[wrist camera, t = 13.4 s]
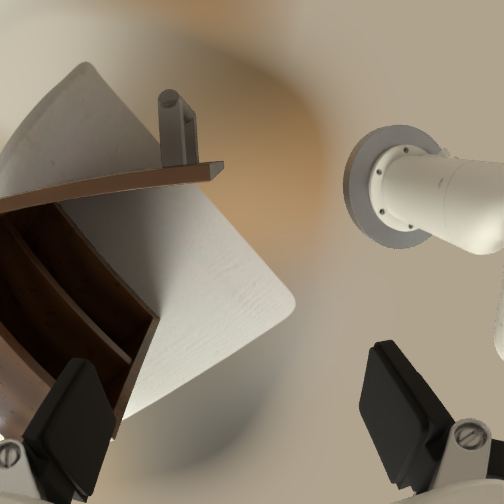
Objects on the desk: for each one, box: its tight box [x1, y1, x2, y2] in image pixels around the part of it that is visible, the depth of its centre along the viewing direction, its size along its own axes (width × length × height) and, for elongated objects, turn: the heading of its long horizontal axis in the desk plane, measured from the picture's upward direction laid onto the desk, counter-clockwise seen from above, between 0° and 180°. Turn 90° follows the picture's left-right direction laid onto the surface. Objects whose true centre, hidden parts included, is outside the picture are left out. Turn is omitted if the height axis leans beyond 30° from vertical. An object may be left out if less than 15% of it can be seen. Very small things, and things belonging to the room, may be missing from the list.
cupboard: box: [0, 202, 160, 444], centre depth 32 cm, size 18×26×24 cm
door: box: [0, 89, 224, 213], centre depth 27 cm, size 7×26×24 cm, turn 93°
